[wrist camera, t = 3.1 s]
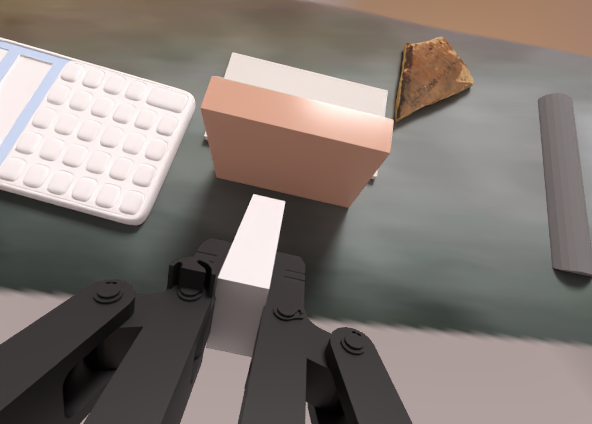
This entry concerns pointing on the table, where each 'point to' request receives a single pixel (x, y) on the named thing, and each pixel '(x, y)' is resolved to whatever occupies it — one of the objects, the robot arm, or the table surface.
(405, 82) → the shard
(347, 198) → the terracotta tile
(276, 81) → the white rectangular slab
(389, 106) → the table surface
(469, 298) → the table surface
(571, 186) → the gray half cylinder
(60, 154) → the calculator
